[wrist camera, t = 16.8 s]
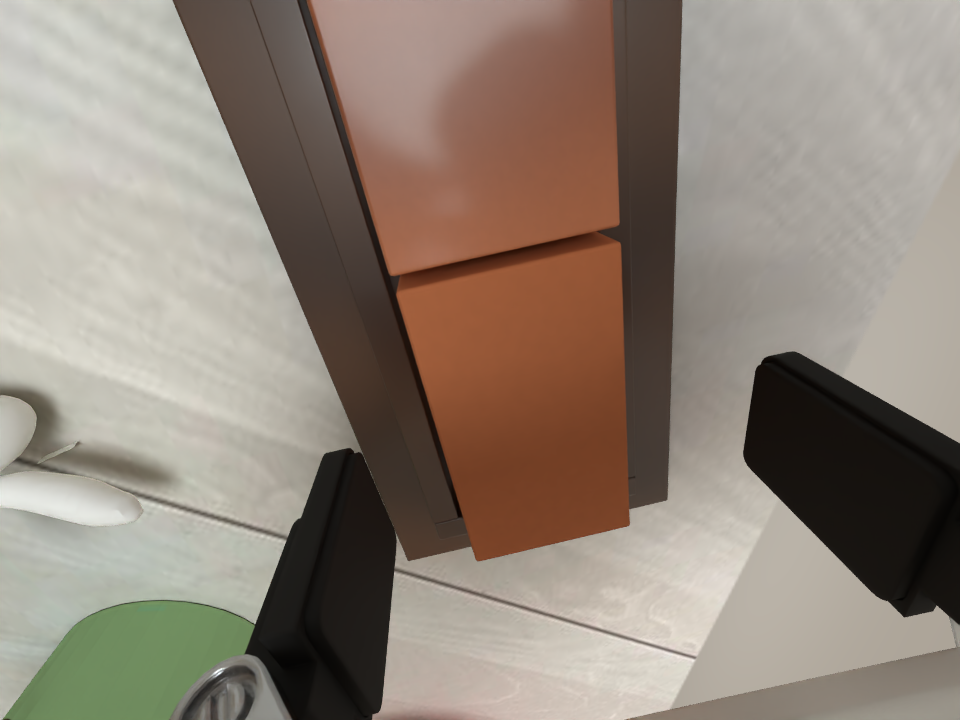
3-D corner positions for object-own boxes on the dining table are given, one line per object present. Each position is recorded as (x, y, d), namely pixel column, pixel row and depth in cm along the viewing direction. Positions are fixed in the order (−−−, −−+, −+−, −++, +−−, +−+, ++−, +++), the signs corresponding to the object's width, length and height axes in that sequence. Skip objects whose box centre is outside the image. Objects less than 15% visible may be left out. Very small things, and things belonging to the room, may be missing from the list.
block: (403, 252, 12) (394, 292, 9) (565, 216, 12) (622, 240, 9) (465, 474, 16) (476, 563, 13) (586, 446, 16) (631, 526, 13)
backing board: (20, -424, 7) (-662, -1392, 3) (665, -546, 8) (1040, -1643, 3) (408, 539, 19) (403, 660, 15) (654, 481, 20) (726, 583, 15)
